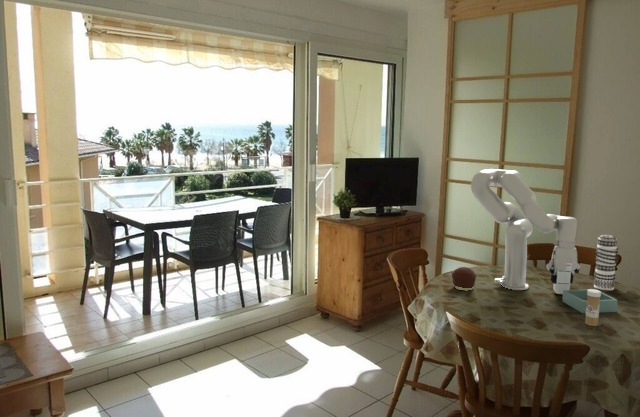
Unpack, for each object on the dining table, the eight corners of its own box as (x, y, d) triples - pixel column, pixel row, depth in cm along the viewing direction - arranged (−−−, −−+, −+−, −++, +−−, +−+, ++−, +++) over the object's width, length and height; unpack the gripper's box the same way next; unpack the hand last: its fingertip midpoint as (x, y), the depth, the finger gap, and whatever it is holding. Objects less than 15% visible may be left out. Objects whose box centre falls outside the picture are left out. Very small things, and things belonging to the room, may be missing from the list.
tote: (582, 313, 203) (583, 301, 203) (562, 301, 218) (563, 290, 217) (616, 311, 205) (617, 300, 204) (594, 300, 219) (595, 289, 218)
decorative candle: (618, 290, 231) (622, 237, 228) (597, 290, 233) (600, 237, 229) (610, 285, 240) (614, 233, 237) (590, 284, 242) (593, 233, 238)
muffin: (451, 284, 244) (452, 264, 243) (475, 285, 241) (476, 265, 240) (451, 291, 233) (451, 270, 232) (476, 293, 230) (476, 272, 229)
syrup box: (569, 294, 224) (572, 263, 221) (555, 293, 225) (558, 262, 223) (565, 290, 229) (569, 260, 227) (552, 289, 231) (555, 259, 228)
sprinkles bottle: (583, 324, 191) (586, 290, 189) (586, 321, 195) (588, 287, 193) (597, 327, 188) (599, 293, 186) (599, 324, 192) (602, 290, 190)
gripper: (551, 246, 219) (547, 285, 222) (589, 246, 221) (584, 285, 224) (542, 242, 227) (538, 280, 229) (578, 242, 228) (575, 280, 231)
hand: (561, 282), depth 226 cm, fingers closed on syrup box, 6 cm apart
